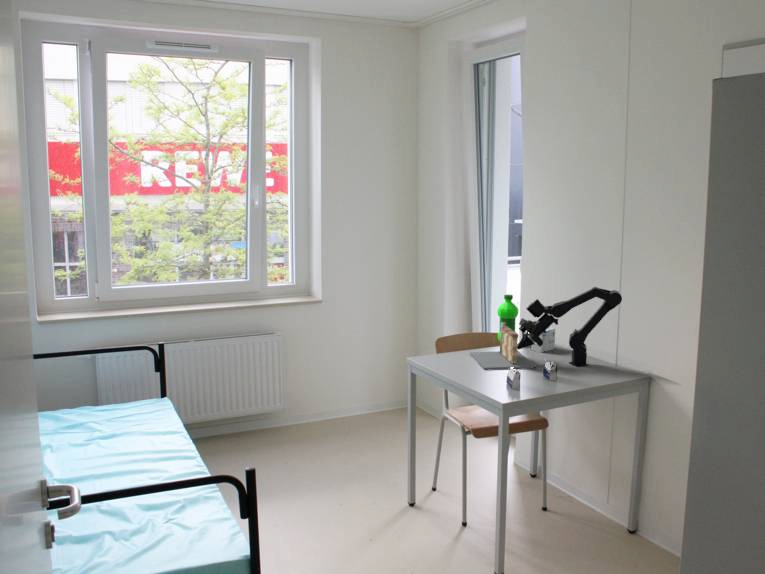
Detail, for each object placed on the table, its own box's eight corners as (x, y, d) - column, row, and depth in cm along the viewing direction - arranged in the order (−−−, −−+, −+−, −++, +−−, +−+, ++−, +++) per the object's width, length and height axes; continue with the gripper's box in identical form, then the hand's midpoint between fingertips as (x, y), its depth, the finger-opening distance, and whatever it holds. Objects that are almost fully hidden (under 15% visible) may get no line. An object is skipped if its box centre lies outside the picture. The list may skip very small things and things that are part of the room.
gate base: (517, 352, 331) (519, 320, 328) (536, 368, 305) (537, 333, 302) (469, 354, 328) (470, 321, 325) (483, 369, 302) (485, 334, 300)
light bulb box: (543, 346, 343) (544, 325, 341) (555, 349, 337) (556, 328, 336) (530, 350, 336) (531, 328, 334) (541, 353, 331) (542, 331, 329)
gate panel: (500, 353, 323) (501, 326, 321) (506, 353, 324) (507, 326, 321) (511, 363, 307) (512, 334, 305) (517, 363, 307) (518, 334, 305)
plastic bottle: (492, 342, 349) (493, 295, 345) (506, 339, 356) (508, 292, 351) (506, 347, 341) (508, 298, 337) (521, 343, 348) (523, 295, 343)
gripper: (524, 308, 319) (500, 332, 320) (537, 317, 301) (512, 342, 301) (539, 324, 321) (515, 347, 322) (553, 334, 303) (528, 358, 304)
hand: (517, 348), depth 312 cm, fingers closed
